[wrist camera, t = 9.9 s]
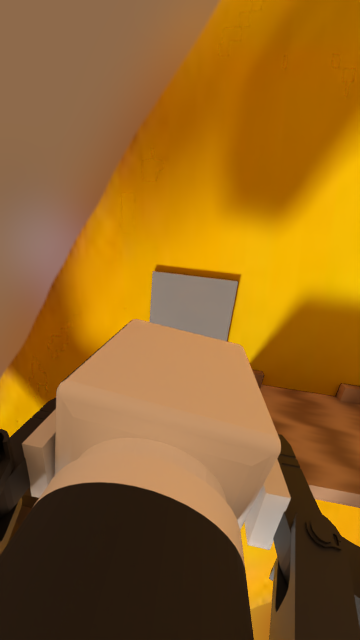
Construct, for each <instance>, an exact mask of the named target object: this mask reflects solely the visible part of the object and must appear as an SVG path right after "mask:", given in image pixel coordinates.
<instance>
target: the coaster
mask: <svg viewBox="0 0 360 640" xmlns="http://www.w3.org/2000/svg"><path fill="white" fill-rule="evenodd" d="M237 285H238V281H235V280H227V279H218V278H210V277H201V276H193V275H185V274H176V273H168V272H160V271H153V277H152V294H151V310H150V323H154V324H158V325H162V326H166V327H170V328H174V329H178V330H183V331H187V332H191V333H195V334H199V335H203V336H207V337H211V338H215V339H219V340H223V341H227V337H228V332H229V327H230V321H231V316H232V311H233V306H234V301H235V296H236V290H237Z"/></svg>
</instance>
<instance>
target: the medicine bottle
mask: <svg viewBox="0 0 360 640" xmlns="http://www.w3.org/2000/svg"><path fill="white" fill-rule="evenodd" d="M280 452H281V442H280V439H279V437H278V434H277V431H276V429H275V426H274V424H273V421H272V419H271V416H270V414H269V411H268V409H267V406H266V404H265V401H264V399H263V396H262V394H261V391H260V389H259V386H258V384H257V381H256V379H255V376H254V374H253V371H252V369H251V366H250V363H249V361H248V358H247V356H246V353H245V351H244V349H243V347H242V346H241V345H239V344H235V343H231V342H227V341H223V340H219V339H215V338H211V337H207V336H203V335H199V334H195V333H191V332H187V331H183V330H178V329H174V328H170V327H166V326H162V325H158V324H154V323H150V322H146V321H142V320H138V319H133V320H132V321H130V322H129V323H128V324H127V325H126V326H125V327H123V328H122V329H121V330H120V331H119V332H118V333H117V334H115V335H114V336H113V337H112V338H111V339H110V340H109V341H107V342H106V343H105V344H104V345H103V346H102V347H101V348H100V349H98V350H97V351H96V352H95V353H94V354H93V355H92V356H90V357H89V358H88V359H87V360H86V361H85V362H84V363H83V364H81V365H80V366H79V367H78V368H77V369H76V370H75V371H73V372H72V373H71V374H70V375H69V376H68V377H67V378H66V379H64V380H63V381H62V382H61V383H60V385H59V386H58V388H57V391H56V438H55V476H54V478H53V479H52V480H51V482H50V483H49V485H48V486H47V487H46V489H45V490H44V492H43V493H42V495H41V496H40V498H39V499H38V501H37V502H36V503H35V505H34V506H33V508H32V509H31V511H30V512H29V514H28V515H27V517H26V518H25V520H24V521H23V522H22V524H21V525H20V527H19V528H18V530H17V531H16V533H15V534H14V536H13V537H12V538H11V540H10V541H9V543H8V544H7V546H6V547H5V549H4V550H3V552H2V553H1V555H0V640H254V638H253V630H252V622H251V614H250V606H249V597H248V589H247V581H246V573H245V565H244V557H243V549H242V541H241V532H240V529H241V527H242V526H243V524H244V522H245V520H246V518H247V516H248V514H249V512H250V510H251V508H252V506H253V504H254V502H255V500H256V499H257V497H258V495H259V493H260V491H261V489H262V487H263V485H264V483H265V481H266V479H267V477H268V475H269V474H270V472H271V470H272V468H273V466H274V464H275V462H276V460H277V458H278V456H279V454H280Z"/></svg>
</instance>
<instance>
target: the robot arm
mask: <svg viewBox="0 0 360 640" xmlns="http://www.w3.org/2000/svg"><path fill="white" fill-rule="evenodd" d="M278 437H279V439H280V442H281V452H280V454H279V456H278V458H277V460H276V462H275V464H274V466H273V468H272V470H271V472H270V474H269V475H268V477H267V479H266V481H265V483H264V485H263V487H262V489H261V491H260V493H259V495H258V497H257V499H256V500H255V502H254V504H253V506H252V508H251V510H250V512H249V514H248V516H247V518H246V520H245V529H246V536H247V543H248V545H250V546H255V547H259V548H264V549H268V550H270V548H271V545H272V543H273V541H274V544H275V548H276V552H277V556H278V557H277V559H276V561H275V563H274V566H273V568H272V570H271V573H270V577H269V579H271V580H272V581H273V579H274V582H273V595H272V609H271V623H270V635H269V640H360V547H359V546H357V545H355V544H353V543H351V542H350V541H348V540H347V539H345V538H344V537H342V536H341V535H340V533H339V532H338V530H337V529H336V527H335V526H334V525H333V524H332V523H331V522H330V521H329V520H328V518H326V517H325V516H324V515H322V513H321V512H320V510H319V508H318V506H317V503H316V501H315V499H314V496H313V494H312V492H311V490H310V487H309V485H308V483H307V481H306V478H305V476H304V474H303V472H302V469H300V465H299V463H298V460H297V459H296V456H295V454H294V451H293V449H292V447H291V445H290V444H289V442H288V441H287V440H286V439H285V438H284V437H283V435H281V434H278ZM55 438H56V398H54V399H52V400H50V401H49V402H47V403H46V404H45V405H44V406H43V407H42V408H41V409H40V411H38V412H37V413H36V414H35V415H33V416H32V418H30V419H29V420H28V421H27V422H26V423H25V424H24V425H23V426H22V427H21V428H20V429H18V430H17V431H16V432H15V433H14V434H13V435H12V436H11V437H10V438H9V435H8V433H7V431H5V430H3V429H0V555H1V553H2V552H3V550H4V549H5V547H6V546H7V544H8V543H9V541H10V540H11V538H12V537H13V536H14V534H15V533H16V531H17V530H18V528H19V527H20V525H21V524H22V522H23V521H24V520H25V518H26V517H27V515H28V514H29V512H30V511H31V509H32V508H33V506H34V505H35V503H36V502H37V501H38V499H39V498H40V496H41V495H42V493H43V492H44V490H45V489H46V487H47V486H48V485H49V483H50V482H51V480H52V479H53V478H54V476H55Z"/></svg>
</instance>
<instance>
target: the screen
mask: <svg viewBox="0 0 360 640" xmlns="http://www.w3.org/2000/svg"><path fill="white" fill-rule="evenodd" d="M252 371H253V374H254V376H255V379H256V381H257V384H258V386H259V389H260V391H261V394H262V396H263V399H264V401H265V404H266V406H267V409H268V411H269V414H270V416H271V419H272V421H273V424H274V426H275V429H276V431H277V434H281V435H283V437H284V438H285V439H286V440H287V441H288V442H289V444H290V445H291V447H292V449H293V451H294V454H295V456H296V459H297V460H298V463H299V465H300V469H302V472H303V474H304V476H305V478H306V481H307V483H308V485H309V487H310V490H311V492H312V494H313V496H314V499H318V500H323V501H328V502H333V503H338V504H343V505H348V506H353V507H358V508H360V386H355V385H348V384H342V383H341V385H340V387H339V390H338V392H337V394H336V396H329V395H323V394H317V393H310V392H304V391H298V390H291V389H285V388H279V387H272V386H266V385H262V381H263V377H264V374H263V372H262V371H256V370H252Z"/></svg>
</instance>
